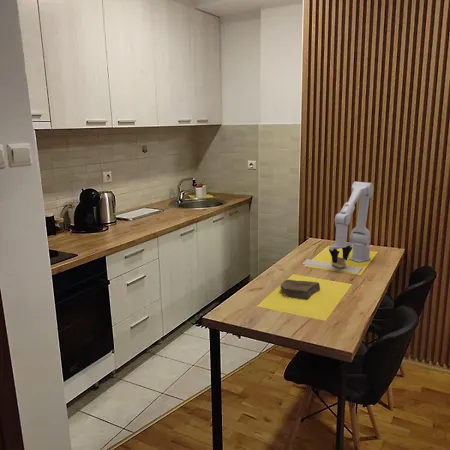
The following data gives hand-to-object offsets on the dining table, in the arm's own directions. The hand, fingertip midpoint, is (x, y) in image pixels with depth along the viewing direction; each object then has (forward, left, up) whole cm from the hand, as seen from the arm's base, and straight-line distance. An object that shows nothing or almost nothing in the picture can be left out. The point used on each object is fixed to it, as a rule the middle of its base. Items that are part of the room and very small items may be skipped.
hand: (339, 261), depth 222 cm
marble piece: (+39, +12, -5) cm, 41 cm away
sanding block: (0, -1, -3) cm, 3 cm away
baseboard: (+1, -5, -5) cm, 8 cm away
